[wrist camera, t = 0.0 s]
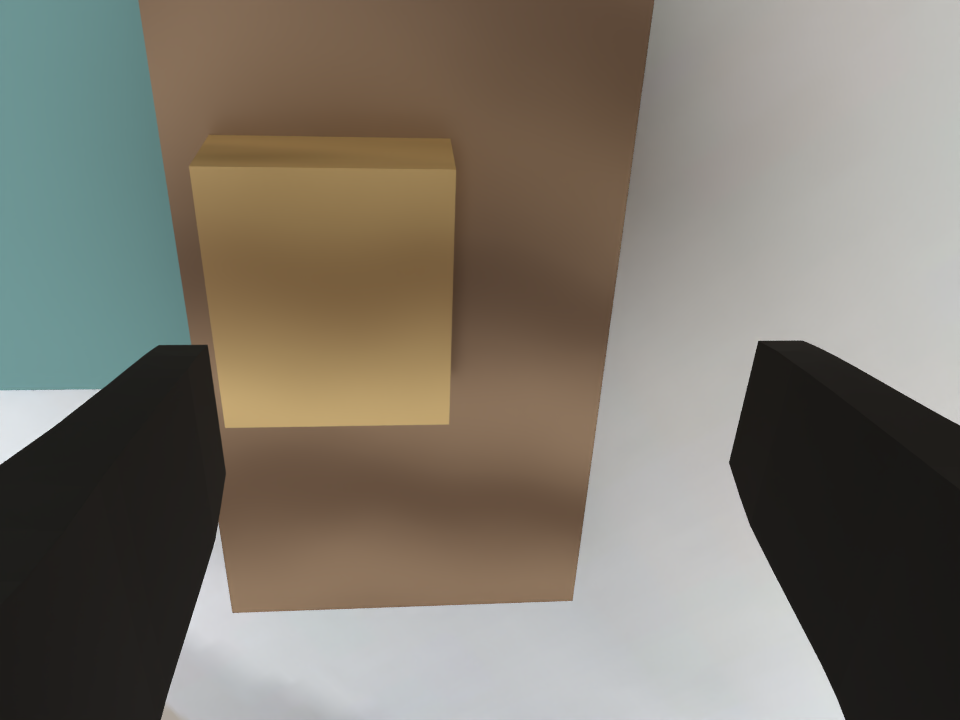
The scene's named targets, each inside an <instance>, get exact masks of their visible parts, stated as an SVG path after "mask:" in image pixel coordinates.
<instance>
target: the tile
mask: <svg viewBox="0 0 960 720" xmlns="http://www.w3.org/2000/svg"><path fill="white" fill-rule="evenodd" d="M189 171H190V178H191V185H192V192H193V200H194V207H195V214H196V221H197V229H198V236H199V243H200V250H201V257H202V265H203V272H204V279H205V286H206V294H207V301H208V308H209V315H210V323H211V330H212V337H213V344H214V351H215V359H216V366H217V373H218V380H219V388H220V395H221V402H222V409H223V416H224V424H225V428H255V427H319V426H382V425H446V424H449V411H450V375H451V338H452V302H453V265H454V229H455V193H456V166H455V161H454V155H453V150H452V145H451V139H444V138H379V137H315V136H251V135H208V137H207V138H206V140H205V142H204V143H203V145H202V146H201V148H200V149H199V151H198V153H197V154H196V156H195V157H194V159H193V161H192V162H191V164H190V165H189Z"/></svg>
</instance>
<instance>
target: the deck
mask: <svg viewBox="0 0 960 720" xmlns="http://www.w3.org/2000/svg"><path fill="white" fill-rule="evenodd" d="M138 2H139V8H140V15H141V21H142V28H143V34H144V41H145V47H146V54H147V60H148V67H149V73H150V80H151V86H152V93H153V99H154V106H155V112H156V119H157V125H158V132H159V138H160V145H161V151H162V158H163V164H164V171H165V177H166V184H167V190H168V197H169V203H170V210H171V216H172V223H173V229H174V236H175V242H176V249H177V255H178V262H179V268H180V275H181V281H182V288H183V294H184V301H185V307H186V314H187V320H188V327H189V333H190V340H191V345H208V349H209V357H210V364H211V371H212V378H213V385H214V392H215V399H216V406H217V413H218V420H219V427H220V434H221V441H222V448H223V455H224V462H225V469H226V477H225V483H224V490H223V496H222V503H221V509H220V515H219V521H218V522H219V528H220V535H221V541H222V548H223V554H224V561H225V567H226V574H227V580H228V587H229V593H230V600H231V606H232V613H241V612H269V611H297V610H325V609H354V608H382V607H410V606H438V605H466V604H494V603H522V602H550V601H572V600H573V592H574V585H575V578H576V570H577V563H578V556H579V548H580V541H581V534H582V526H583V519H584V512H585V504H586V497H587V490H588V482H589V475H590V468H591V460H592V453H593V446H594V438H595V431H596V424H597V416H598V409H599V402H600V394H601V387H602V380H603V372H604V365H605V358H606V350H607V343H608V336H609V328H610V321H611V314H612V306H613V299H614V292H615V284H616V277H617V270H618V262H619V255H620V248H621V240H622V233H623V226H624V218H625V211H626V203H627V196H628V189H629V181H630V174H631V167H632V159H633V152H634V145H635V137H636V130H637V123H638V115H639V108H640V101H641V93H642V86H643V79H644V71H645V64H646V57H647V49H648V42H649V35H650V27H651V20H652V13H653V5H654V0H138ZM208 135H251V136H315V137H379V138H444V139H451V145H452V150H453V155H454V161H455V166H456V193H455V229H454V265H453V302H452V338H451V375H450V411H449V424H446V425H382V426H319V427H255V428H225V424H224V416H223V409H222V402H221V395H220V388H219V380H218V373H217V366H216V359H215V351H214V344H213V337H212V330H211V323H210V315H209V308H208V301H207V294H206V286H205V279H204V272H203V265H202V257H201V250H200V243H199V236H198V229H197V221H196V214H195V207H194V200H193V192H192V185H191V178H190V171H189V165H190V164H191V162H192V161H193V159H194V157H195V156H196V154H197V153H198V151H199V149H200V148H201V146H202V145H203V143H204V142H205V140H206V138H207V137H208Z"/></svg>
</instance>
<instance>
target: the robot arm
mask: <svg viewBox="0 0 960 720" xmlns="http://www.w3.org/2000/svg"><path fill="white" fill-rule="evenodd" d="M729 464H730V467H731V470H732V473H733V477H734V480H735V483H736V486H737V489H738V492H739V495H740V498H741V501H742V504H743V507H744V510H745V512H746V515H747V518H748V521H749V524H750V526H751V528H752V530H753V532H754V534H755V536H756V538H757V540H758V542H759V544H760V546H761V548H762V550H763V552H764V554H765V556H766V558H767V560H768V562H769V564H770V566H771V568H772V570H773V572H774V574H775V576H776V578H777V580H778V582H779V584H780V586H781V587H782V589H783V591H784V593H785V595H786V597H787V599H788V601H789V603H790V605H791V607H792V609H793V611H794V612H795V614H796V616H797V618H798V620H799V622H800V624H801V626H802V628H803V630H804V632H805V634H806V636H807V638H808V639H809V641H810V643H811V645H812V647H813V649H814V651H815V653H816V655H817V657H818V659H819V661H820V663H821V664H822V667H823V669H824V671H825V673H826V675H827V677H828V680H829V682H830V684H831V686H832V688H833V690H834V693H835V695H836V697H837V699H838V702H839V704H840V707H841V710H842V712H843V715H844V717H845V720H960V425H958V424H956V423H954V422H952V421H950V420H949V419H947V418H945V417H943V416H941V415H939V414H938V413H936V412H934V411H932V410H930V409H929V408H927V407H925V406H923V405H921V404H920V403H918V402H916V401H914V400H913V399H911V398H909V397H907V396H905V395H904V394H902V393H900V392H898V391H897V390H895V389H893V388H891V387H890V386H888V385H886V384H884V383H883V382H881V381H879V380H877V379H876V378H874V377H872V376H870V375H869V374H867V373H865V372H863V371H862V370H860V369H858V368H856V367H854V366H853V365H851V364H849V363H847V362H845V361H844V360H842V359H840V358H838V357H836V356H834V355H832V354H830V353H828V352H826V351H825V350H822V349H820V348H818V347H816V346H814V345H812V344H809V343H807V342H805V341H758V345H757V349H756V353H755V357H754V361H753V366H752V370H751V374H750V378H749V382H748V386H747V391H746V395H745V399H744V403H743V407H742V411H741V415H740V420H739V424H738V428H737V432H736V436H735V440H734V444H733V449H732V453H731V457H730V461H729ZM225 477H226V469H225V462H224V455H223V448H222V441H221V434H220V427H219V420H218V413H217V406H216V399H215V392H214V385H213V378H212V371H211V364H210V357H209V349H208V345H158V346H156V347H155V348H153V349H152V350H150V351H149V352H148V353H146V354H145V355H144V356H142V357H141V358H140V359H139V360H137V361H136V362H135V363H134V364H132V365H131V366H130V367H129V368H127V369H126V370H125V371H124V372H123V373H121V374H120V375H119V376H118V377H116V378H115V379H114V380H113V381H111V382H110V383H109V384H108V385H106V386H105V387H104V388H103V389H102V390H100V391H99V392H98V393H96V394H95V395H94V396H93V397H91V398H90V399H89V400H88V401H86V402H85V403H84V404H83V405H81V406H80V407H79V408H77V409H76V410H75V411H74V412H72V413H71V414H70V415H69V416H67V417H66V418H65V419H63V420H62V421H61V422H60V423H58V424H57V425H56V426H54V427H53V428H52V429H50V430H49V431H47V432H46V433H45V434H43V435H42V436H40V437H39V438H37V439H36V440H35V441H33V442H32V443H30V444H29V445H28V446H26V447H25V448H23V449H22V450H21V451H19V452H18V453H16V454H15V455H14V456H12V457H11V458H9V459H8V460H7V461H5V462H4V463H2V464H1V465H0V720H161V717H162V713H163V709H164V706H165V702H166V698H167V694H168V691H169V688H170V684H171V681H172V678H173V675H174V672H175V668H176V665H177V662H178V659H179V656H180V653H181V649H182V646H183V643H184V640H185V637H186V633H187V630H188V627H189V624H190V621H191V617H192V614H193V611H194V608H195V605H196V601H197V598H198V595H199V592H200V589H201V585H202V582H203V579H204V575H205V572H206V569H207V566H208V562H209V559H210V556H211V552H212V549H213V546H214V542H215V538H216V532H217V527H218V521H219V515H220V509H221V503H222V496H223V490H224V483H225Z"/></svg>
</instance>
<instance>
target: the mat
mask: <svg viewBox="0 0 960 720" xmlns="http://www.w3.org/2000/svg"><path fill="white" fill-rule="evenodd" d="M158 345H191V340H190V333H189V327H188V320H187V314H186V307H185V301H184V294H183V288H182V281H181V275H180V268H179V262H178V255H177V249H176V242H175V236H174V229H173V223H172V216H171V210H170V203H169V197H168V190H167V184H166V177H165V171H164V164H163V158H162V151H161V145H160V138H159V132H158V125H157V119H156V112H155V106H154V99H153V93H152V86H151V80H150V73H149V67H148V60H147V54H146V47H145V41H144V34H143V28H142V21H141V15H140V8H139V2H138V0H0V390H64V389H103V388H104V387H105V386H106V385H108V384H109V383H110V382H111V381H113V380H114V379H115V378H116V377H118V376H119V375H120V374H121V373H123V372H124V371H125V370H126V369H127V368H129V367H130V366H131V365H132V364H134V363H135V362H136V361H137V360H139V359H140V358H141V357H142V356H144V355H145V354H146V353H148V352H149V351H150V350H152V349H153V348H155V347H156V346H158Z"/></svg>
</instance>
